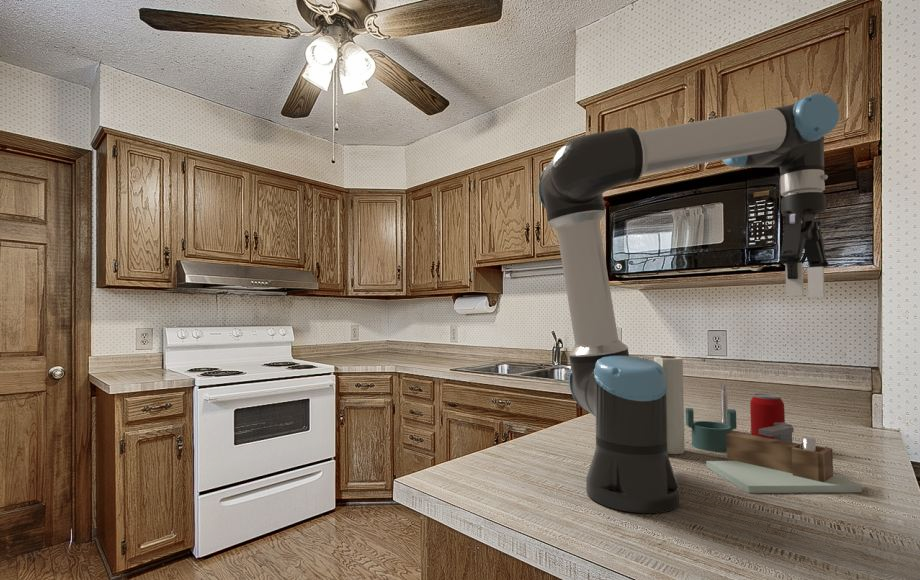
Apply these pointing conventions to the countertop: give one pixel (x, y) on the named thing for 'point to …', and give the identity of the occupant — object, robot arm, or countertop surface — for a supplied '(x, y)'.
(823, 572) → the countertop surface
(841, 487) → the base board
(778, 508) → the countertop surface
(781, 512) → the countertop surface
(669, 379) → the paper towel roll
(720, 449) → the teal hollow cylinder
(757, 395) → the beverage can
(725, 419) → the screw
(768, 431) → the keeper
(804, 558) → the countertop surface
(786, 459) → the link
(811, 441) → the cylinder
